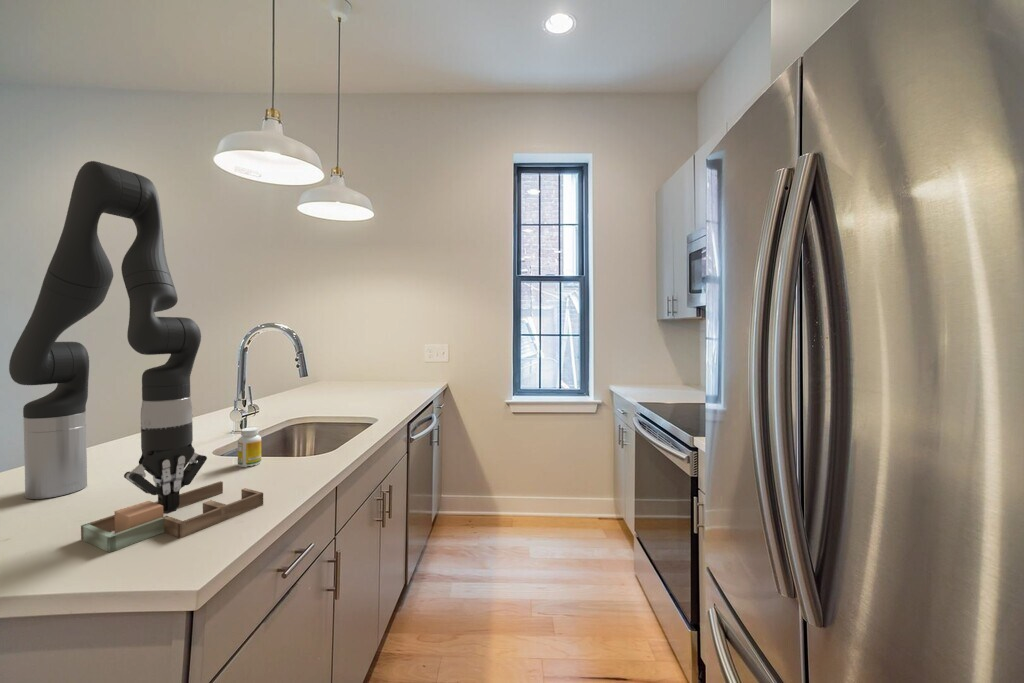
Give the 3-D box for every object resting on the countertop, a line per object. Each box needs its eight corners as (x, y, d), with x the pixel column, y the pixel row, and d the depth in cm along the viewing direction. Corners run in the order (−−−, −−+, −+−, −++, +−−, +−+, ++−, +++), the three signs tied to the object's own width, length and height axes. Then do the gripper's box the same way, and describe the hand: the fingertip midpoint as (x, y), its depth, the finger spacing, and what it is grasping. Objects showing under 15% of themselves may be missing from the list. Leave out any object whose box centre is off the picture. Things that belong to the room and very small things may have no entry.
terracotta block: (114, 533, 73) (114, 511, 73) (149, 521, 78) (148, 500, 77) (129, 539, 71) (128, 516, 71) (163, 527, 75) (163, 505, 75)
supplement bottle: (233, 467, 107) (233, 431, 107) (244, 461, 113) (244, 426, 112) (255, 467, 108) (254, 431, 108) (265, 460, 113) (265, 426, 113)
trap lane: (81, 539, 71) (80, 525, 71) (220, 492, 91) (220, 481, 91) (126, 559, 65) (125, 544, 65) (264, 504, 86) (264, 492, 86)
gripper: (194, 413, 85) (195, 495, 86) (112, 427, 73) (113, 522, 74) (216, 417, 82) (217, 502, 83) (135, 432, 70) (136, 531, 71)
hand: (168, 511), depth 78 cm, fingers closed
